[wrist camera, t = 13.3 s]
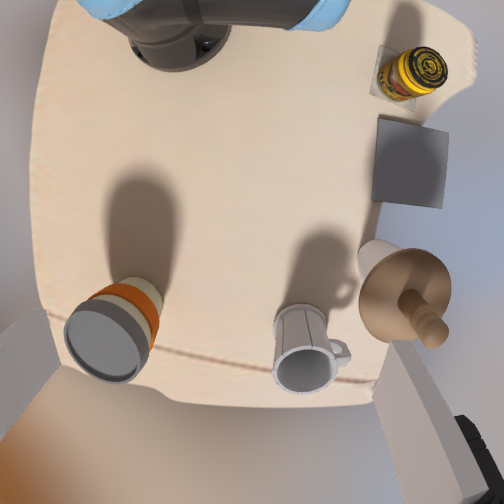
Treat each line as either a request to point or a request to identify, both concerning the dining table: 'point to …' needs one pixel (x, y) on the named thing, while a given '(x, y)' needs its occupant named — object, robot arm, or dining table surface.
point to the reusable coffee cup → (115, 330)
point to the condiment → (407, 75)
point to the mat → (410, 164)
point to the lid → (407, 298)
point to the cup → (305, 350)
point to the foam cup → (373, 255)
